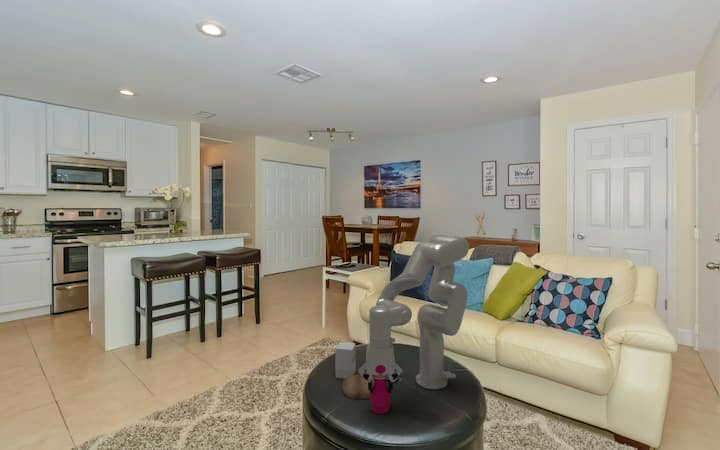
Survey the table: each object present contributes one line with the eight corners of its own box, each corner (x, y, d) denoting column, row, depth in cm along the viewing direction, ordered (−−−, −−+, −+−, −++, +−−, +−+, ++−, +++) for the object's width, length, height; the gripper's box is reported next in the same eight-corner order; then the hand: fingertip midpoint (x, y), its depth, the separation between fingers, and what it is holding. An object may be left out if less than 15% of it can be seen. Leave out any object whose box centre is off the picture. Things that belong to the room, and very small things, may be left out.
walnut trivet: (377, 379, 147) (377, 374, 147) (379, 399, 133) (379, 392, 133) (343, 380, 147) (342, 374, 146) (341, 399, 133) (341, 393, 133)
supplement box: (352, 379, 147) (352, 350, 146) (335, 378, 149) (334, 348, 148) (356, 371, 155) (355, 342, 154) (339, 369, 156) (339, 341, 155)
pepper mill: (366, 410, 126) (365, 355, 124) (377, 400, 132) (376, 348, 130) (384, 417, 122) (383, 360, 120) (394, 406, 128) (393, 352, 126)
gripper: (403, 337, 129) (403, 385, 130) (355, 337, 129) (355, 386, 130) (406, 346, 121) (406, 396, 123) (355, 346, 121) (356, 397, 123)
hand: (380, 390), depth 126 cm, fingers closed on pepper mill, 6 cm apart
